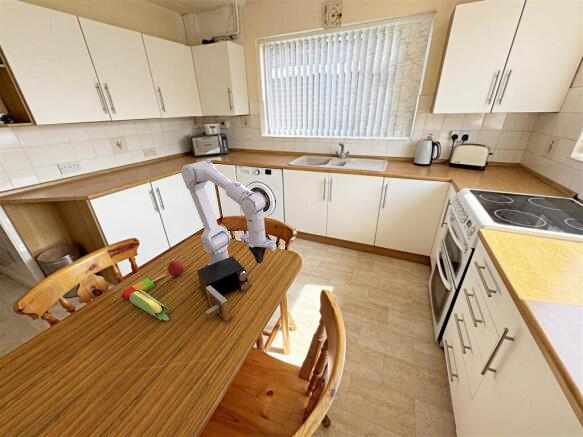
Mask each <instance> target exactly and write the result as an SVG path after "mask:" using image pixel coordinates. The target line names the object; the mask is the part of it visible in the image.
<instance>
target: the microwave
mask: <svg viewBox="0 0 583 437" xmlns="http://www.w3.org/2000/svg"><path fill="white" fill-rule="evenodd" d="M196 272H197V277H198V280H199V285H200V288H201V289H202V292H203V293H204V294H205V296H206V297H207V298H208V296H207V292H206V287H208V286H211V287H212V288H214V289H215V290H216V291H217V292H218V293H219V294H220V295H222V296H223V297H225V296H227V295H229V294H231V293H233V292H236V291H237V290H239V291H240V292H241V291H243V292H244V291H247V290H248V289H249V287H250V283H249V279H248V273H247V269H246V268H245V267H244V266H243V265H242V264H241V263H240V262H239V261H238V260H237V258H235V257H234V256H233V255H231V256H229V258H226V259H224V260H221V261H219V262H216V263H214V264H211V265H209V266H208V265H207V266H204V267H201V268H200V269H197V270H196Z"/></svg>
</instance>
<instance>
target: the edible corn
mask: <svg viewBox="0 0 583 437" xmlns="http://www.w3.org/2000/svg"><path fill="white" fill-rule="evenodd" d="M128 301H129V302H131V303H132V304H133V305H134V306H135V307H137V308H139V309H140V310H142V311H144V312H146V313H147V314H149V315H150V316H152V317H155V318H156V319H158V320H159V321H169V320H170V318H169V316H168V315H167V314H166V313H168V312H169V311H168V310H170V308H169V307H168V306H166V305H165V304H163V303H161V302H160V301H158V300H157V299H156V298H154V297H153V296H152V295H150V294H149V293H148V292H147V291H146V292H144V291H142V290H133V291H132V293H131V295H130V299H129V300H128Z"/></svg>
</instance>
